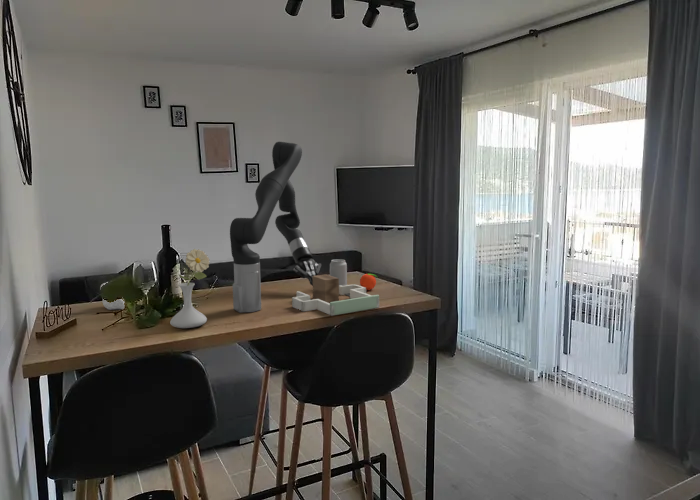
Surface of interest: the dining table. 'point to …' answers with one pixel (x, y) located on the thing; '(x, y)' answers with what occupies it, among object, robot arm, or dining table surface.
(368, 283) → the clementine
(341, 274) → the can
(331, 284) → the brown rectangular block
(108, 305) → the duck figurine
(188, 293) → the flower in vase
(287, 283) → the dining table surface
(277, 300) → the dining table surface
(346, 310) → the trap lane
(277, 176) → the robot arm
